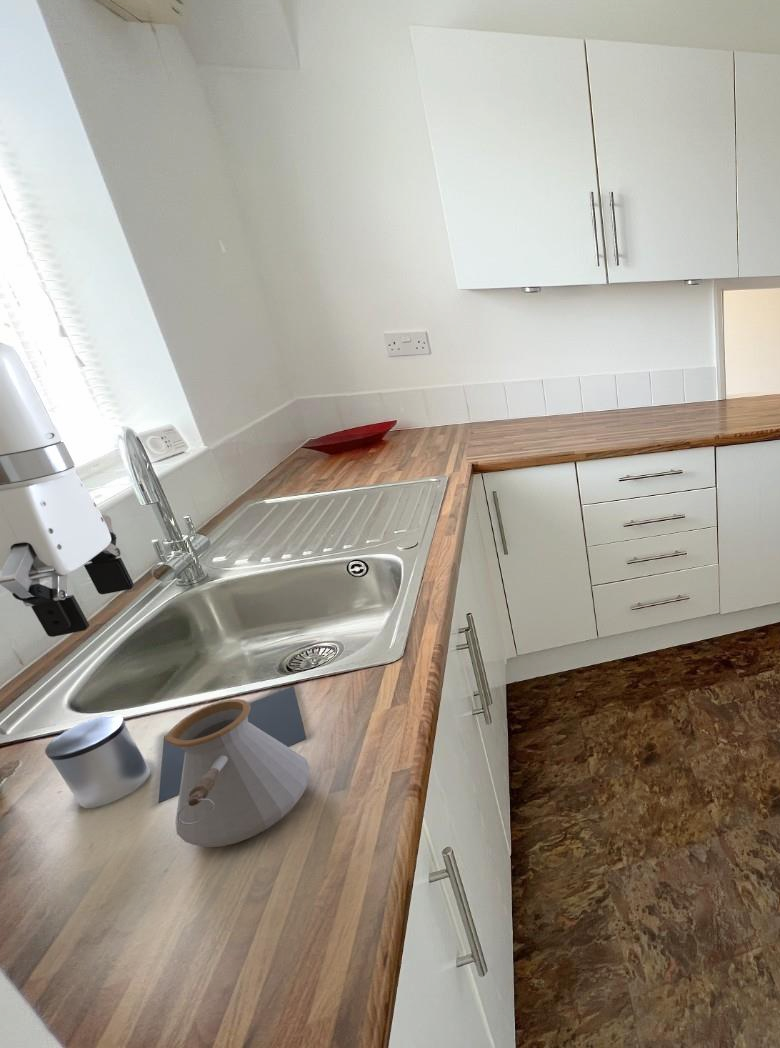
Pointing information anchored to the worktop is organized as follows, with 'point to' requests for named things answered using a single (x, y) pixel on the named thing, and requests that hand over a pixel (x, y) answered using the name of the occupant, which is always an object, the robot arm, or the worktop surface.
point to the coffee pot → (232, 776)
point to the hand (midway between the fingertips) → (95, 610)
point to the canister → (99, 761)
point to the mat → (267, 714)
